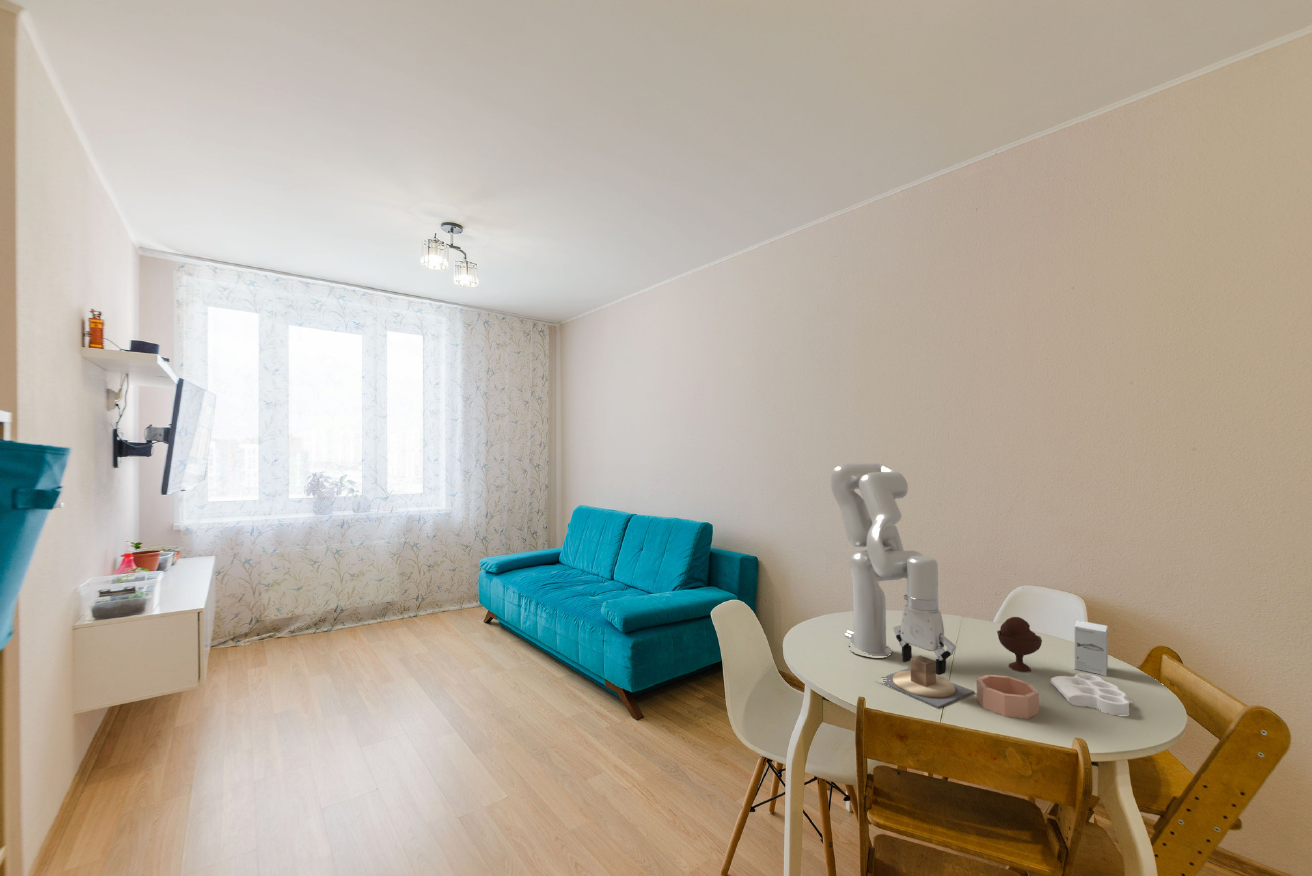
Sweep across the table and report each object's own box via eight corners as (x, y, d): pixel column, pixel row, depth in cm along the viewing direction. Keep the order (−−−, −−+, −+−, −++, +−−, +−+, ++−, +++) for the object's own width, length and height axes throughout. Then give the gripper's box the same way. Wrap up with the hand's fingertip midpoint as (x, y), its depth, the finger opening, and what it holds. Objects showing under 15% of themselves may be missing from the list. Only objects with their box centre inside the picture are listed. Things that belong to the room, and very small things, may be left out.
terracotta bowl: (969, 701, 137) (968, 681, 137) (994, 690, 143) (994, 671, 143) (1020, 722, 126) (1020, 701, 126) (1046, 709, 132) (1045, 689, 133)
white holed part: (1046, 681, 149) (1110, 688, 144) (1074, 712, 132) (1148, 721, 127) (1046, 669, 149) (1110, 675, 145) (1074, 698, 132) (1147, 707, 127)
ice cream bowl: (1050, 677, 151) (1049, 623, 151) (1006, 674, 153) (1005, 621, 153) (1032, 662, 161) (1031, 611, 161) (990, 659, 163) (990, 609, 163)
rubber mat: (875, 681, 149) (875, 679, 149) (911, 668, 157) (911, 667, 157) (938, 708, 133) (938, 706, 133) (974, 693, 141) (974, 691, 142)
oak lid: (881, 680, 148) (880, 656, 148) (915, 669, 155) (914, 645, 156) (932, 703, 135) (932, 676, 135) (967, 689, 143) (966, 663, 143)
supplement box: (1073, 669, 156) (1073, 625, 156) (1076, 661, 161) (1075, 619, 162) (1107, 676, 151) (1106, 631, 151) (1108, 668, 156) (1108, 624, 156)
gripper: (885, 597, 151) (886, 659, 151) (945, 614, 136) (946, 682, 136) (902, 593, 155) (903, 653, 155) (962, 609, 140) (963, 675, 140)
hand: (923, 667), depth 145 cm, fingers open, 9 cm apart
